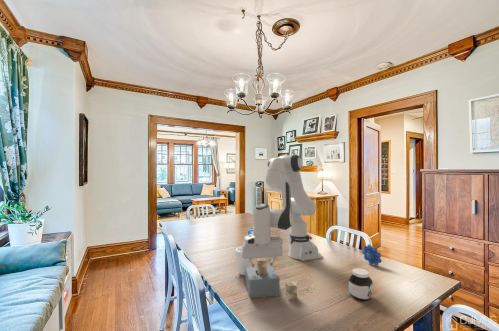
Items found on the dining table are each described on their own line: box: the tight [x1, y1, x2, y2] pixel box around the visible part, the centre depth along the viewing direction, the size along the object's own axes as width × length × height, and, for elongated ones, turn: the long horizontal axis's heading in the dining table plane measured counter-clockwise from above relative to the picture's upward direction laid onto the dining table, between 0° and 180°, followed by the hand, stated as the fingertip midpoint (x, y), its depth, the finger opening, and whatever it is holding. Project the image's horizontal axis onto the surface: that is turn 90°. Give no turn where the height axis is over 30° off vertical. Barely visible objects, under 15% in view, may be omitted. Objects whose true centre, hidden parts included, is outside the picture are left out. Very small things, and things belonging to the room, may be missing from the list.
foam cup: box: [235, 246, 251, 276], centre depth 134 cm, size 10×9×13 cm
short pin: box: [285, 281, 298, 301], centre depth 108 cm, size 4×4×6 cm
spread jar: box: [348, 267, 374, 302], centre depth 111 cm, size 12×11×12 cm
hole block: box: [244, 265, 281, 299], centre depth 115 cm, size 14×14×8 cm
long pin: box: [256, 258, 268, 276], centre depth 116 cm, size 4×4×14 cm
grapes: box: [361, 243, 382, 267], centre depth 145 cm, size 12×7×12 cm, turn 38°
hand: (262, 266), depth 116 cm, fingers open, 8 cm apart
